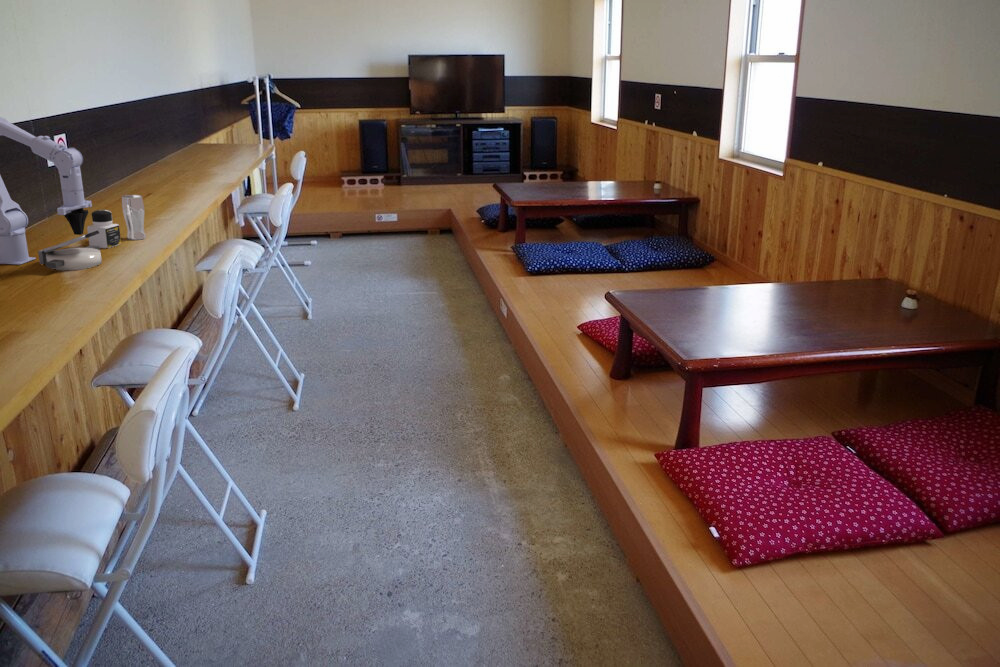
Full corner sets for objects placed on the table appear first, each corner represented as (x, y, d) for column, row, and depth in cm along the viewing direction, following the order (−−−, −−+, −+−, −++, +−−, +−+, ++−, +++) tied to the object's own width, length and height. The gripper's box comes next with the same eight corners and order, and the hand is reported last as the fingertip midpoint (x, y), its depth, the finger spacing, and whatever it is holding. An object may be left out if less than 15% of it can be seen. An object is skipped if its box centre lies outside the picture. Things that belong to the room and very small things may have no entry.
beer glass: (121, 238, 279) (116, 196, 274) (136, 235, 285) (132, 193, 280) (136, 241, 277) (131, 198, 272) (151, 237, 283) (147, 195, 278)
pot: (22, 271, 235) (19, 257, 233) (68, 253, 257) (66, 241, 255) (76, 275, 234) (74, 261, 232) (118, 257, 255) (116, 244, 254)
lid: (33, 257, 237) (31, 254, 237) (63, 246, 252) (61, 243, 251) (81, 240, 234) (79, 236, 234) (109, 230, 248) (107, 226, 248)
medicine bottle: (108, 248, 265) (103, 213, 261) (89, 247, 266) (84, 211, 262) (121, 244, 272) (117, 209, 268) (103, 242, 273) (98, 208, 269)
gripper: (70, 194, 230) (77, 240, 235) (98, 186, 244) (104, 230, 248) (47, 193, 231) (54, 238, 235) (76, 185, 244) (82, 228, 249)
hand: (78, 234), depth 242 cm, fingers closed
